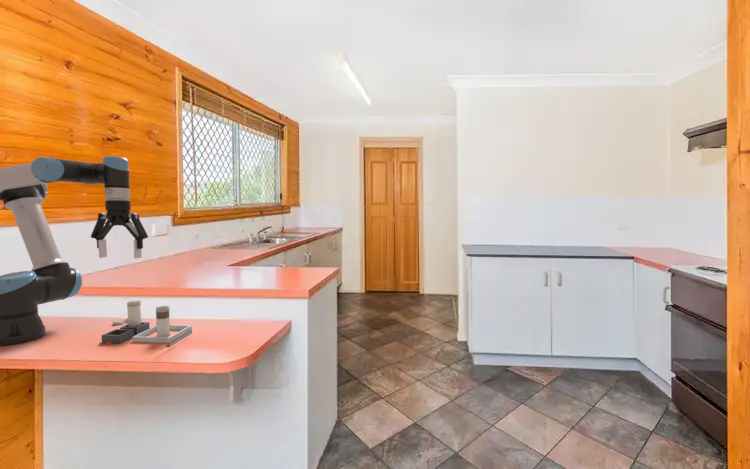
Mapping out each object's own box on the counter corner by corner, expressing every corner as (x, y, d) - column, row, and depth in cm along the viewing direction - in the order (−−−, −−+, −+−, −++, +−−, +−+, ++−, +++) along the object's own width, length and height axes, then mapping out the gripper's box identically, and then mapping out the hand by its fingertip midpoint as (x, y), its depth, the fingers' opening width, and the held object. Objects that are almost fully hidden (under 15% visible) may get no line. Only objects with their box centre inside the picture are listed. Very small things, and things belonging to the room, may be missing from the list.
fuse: (125, 333, 131) (124, 303, 130) (134, 329, 135) (132, 300, 134) (136, 333, 130) (135, 303, 129) (144, 329, 134) (143, 300, 134)
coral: (109, 329, 140) (108, 318, 139) (127, 321, 150) (126, 310, 150) (124, 329, 140) (123, 318, 139) (141, 321, 150) (140, 310, 150)
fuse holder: (98, 348, 120) (97, 336, 120) (134, 331, 137) (133, 321, 136) (118, 348, 120) (117, 337, 120) (151, 332, 136) (151, 321, 136)
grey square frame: (132, 345, 123) (132, 336, 122) (158, 332, 136) (158, 324, 135) (169, 346, 122) (169, 338, 121) (192, 333, 135) (191, 325, 135)
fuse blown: (154, 339, 127) (153, 308, 126) (161, 335, 131) (160, 305, 130) (165, 339, 126) (164, 309, 126) (172, 335, 130) (171, 306, 130)
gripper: (76, 199, 128) (79, 258, 130) (143, 199, 127) (145, 259, 128) (94, 200, 136) (97, 255, 137) (157, 200, 134) (159, 256, 136)
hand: (120, 257), depth 133 cm, fingers open, 13 cm apart
